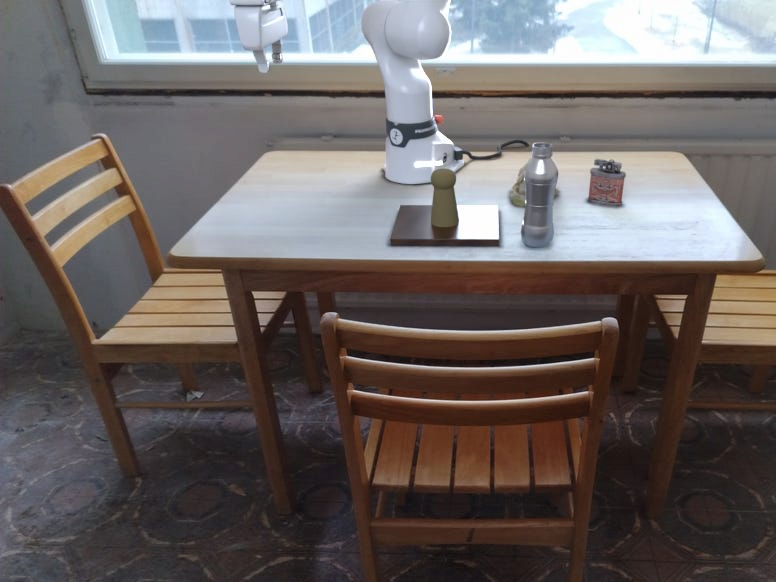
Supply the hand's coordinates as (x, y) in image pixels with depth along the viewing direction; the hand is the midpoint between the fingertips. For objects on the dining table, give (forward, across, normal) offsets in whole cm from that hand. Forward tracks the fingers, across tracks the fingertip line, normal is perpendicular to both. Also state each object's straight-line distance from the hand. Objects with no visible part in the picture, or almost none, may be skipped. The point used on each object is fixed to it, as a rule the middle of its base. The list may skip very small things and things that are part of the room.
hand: (271, 67), depth 134 cm
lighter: (+29, -2, +72) cm, 78 cm away
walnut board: (+29, +13, +36) cm, 48 cm away
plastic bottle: (+29, +20, +55) cm, 66 cm away
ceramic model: (+29, -6, +55) cm, 63 cm away
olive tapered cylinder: (+28, +13, +36) cm, 47 cm away
